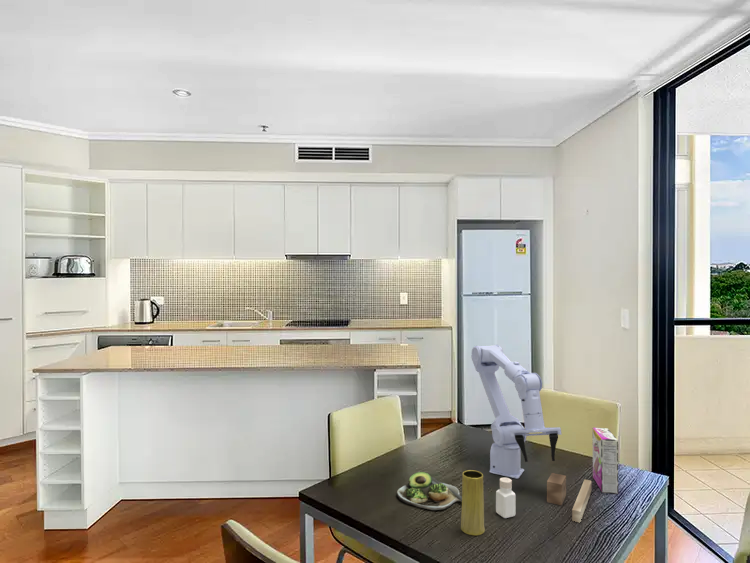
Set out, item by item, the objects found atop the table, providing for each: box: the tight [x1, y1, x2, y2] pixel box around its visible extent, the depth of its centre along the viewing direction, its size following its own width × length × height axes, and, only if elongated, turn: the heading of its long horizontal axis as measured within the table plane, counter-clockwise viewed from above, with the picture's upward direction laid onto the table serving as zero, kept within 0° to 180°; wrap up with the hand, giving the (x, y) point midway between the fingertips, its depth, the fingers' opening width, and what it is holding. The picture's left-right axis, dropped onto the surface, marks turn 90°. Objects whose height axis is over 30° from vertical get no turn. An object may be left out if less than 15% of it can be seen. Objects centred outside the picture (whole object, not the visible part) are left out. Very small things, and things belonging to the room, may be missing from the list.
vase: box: [460, 469, 486, 536], centre depth 120 cm, size 6×6×14 cm
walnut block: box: [546, 472, 567, 506], centre depth 136 cm, size 4×7×6 cm, turn 148°
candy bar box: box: [591, 427, 619, 495], centre depth 145 cm, size 11×5×16 cm, turn 168°
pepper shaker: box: [495, 477, 517, 519], centre depth 127 cm, size 4×4×10 cm
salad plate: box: [396, 471, 462, 511], centre depth 138 cm, size 19×18×5 cm
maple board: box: [571, 478, 592, 524], centre depth 133 cm, size 2×22×3 cm, turn 148°
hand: (539, 460), depth 139 cm, fingers open, 7 cm apart
